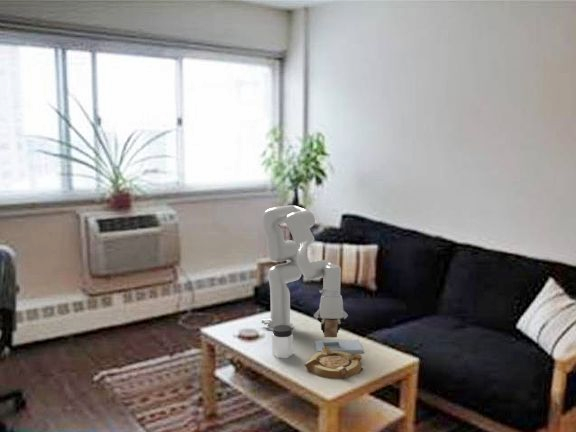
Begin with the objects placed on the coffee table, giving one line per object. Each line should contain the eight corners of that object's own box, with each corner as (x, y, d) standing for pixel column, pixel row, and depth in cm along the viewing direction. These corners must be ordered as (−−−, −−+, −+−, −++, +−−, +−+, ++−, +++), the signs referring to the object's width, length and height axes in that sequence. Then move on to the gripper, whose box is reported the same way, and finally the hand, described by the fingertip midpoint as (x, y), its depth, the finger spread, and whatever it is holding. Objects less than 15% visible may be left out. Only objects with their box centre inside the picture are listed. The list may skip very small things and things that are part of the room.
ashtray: (293, 365, 235) (293, 354, 234) (335, 351, 249) (335, 340, 248) (330, 386, 216) (331, 373, 215) (374, 369, 230) (374, 358, 229)
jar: (293, 350, 249) (292, 324, 247) (293, 358, 241) (292, 331, 239) (272, 350, 249) (272, 324, 247) (272, 358, 241) (271, 331, 239)
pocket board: (317, 354, 245) (317, 350, 245) (314, 343, 257) (314, 340, 256) (363, 353, 246) (363, 349, 245) (358, 342, 257) (358, 339, 257)
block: (324, 337, 248) (325, 320, 246) (323, 332, 253) (323, 315, 252) (337, 337, 248) (337, 320, 247) (335, 332, 254) (336, 315, 252)
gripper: (312, 295, 243) (311, 334, 246) (352, 295, 244) (350, 334, 247) (311, 289, 250) (310, 328, 254) (349, 289, 251) (348, 328, 255)
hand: (330, 331), depth 250 cm, fingers closed on block, 5 cm apart
